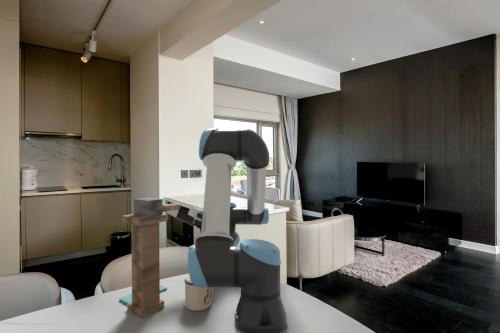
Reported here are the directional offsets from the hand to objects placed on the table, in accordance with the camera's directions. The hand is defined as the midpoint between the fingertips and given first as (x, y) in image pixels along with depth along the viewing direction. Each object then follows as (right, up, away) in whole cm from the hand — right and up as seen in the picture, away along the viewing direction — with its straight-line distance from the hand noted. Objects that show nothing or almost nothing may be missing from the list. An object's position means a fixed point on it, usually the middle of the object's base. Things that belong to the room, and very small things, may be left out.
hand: (176, 208), depth 106 cm
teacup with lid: (+9, -31, -6) cm, 33 cm away
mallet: (-4, 0, -6) cm, 7 cm away
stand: (-7, -30, -11) cm, 33 cm away
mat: (-11, -30, -1) cm, 32 cm away
